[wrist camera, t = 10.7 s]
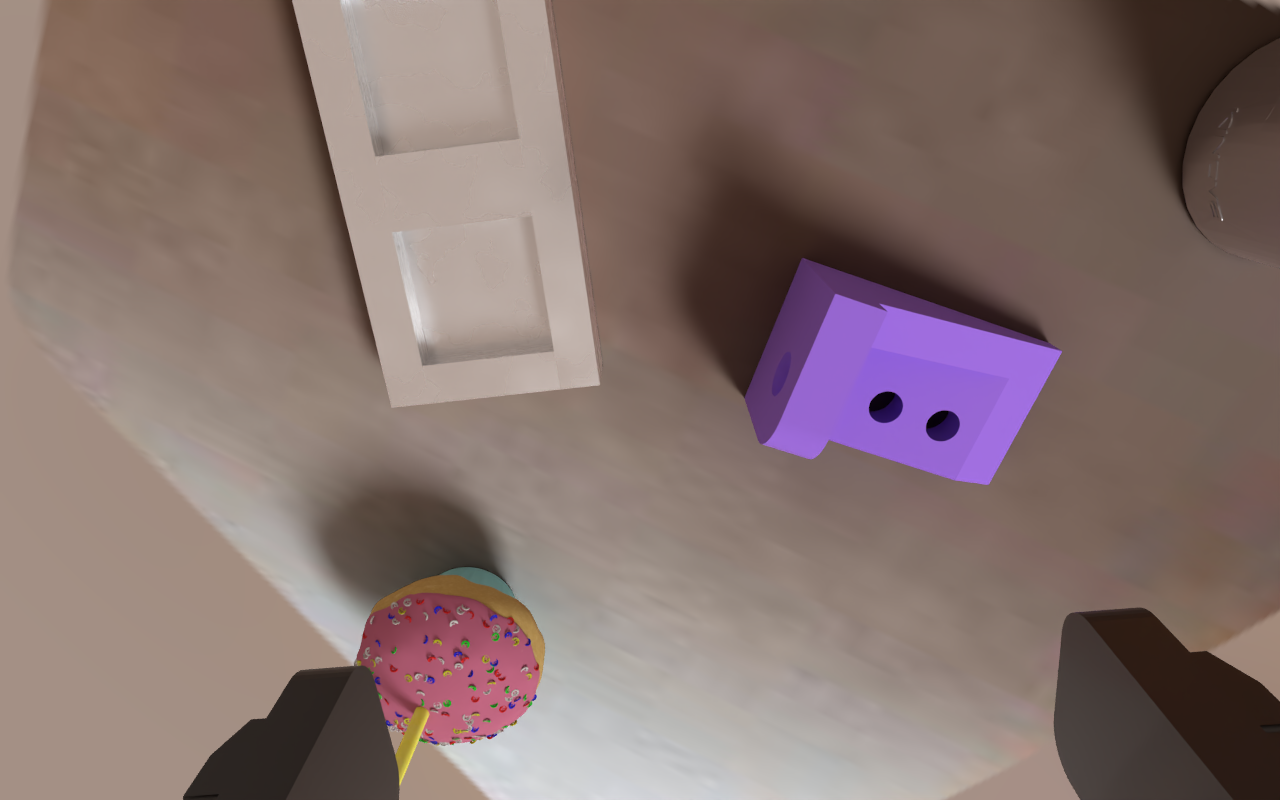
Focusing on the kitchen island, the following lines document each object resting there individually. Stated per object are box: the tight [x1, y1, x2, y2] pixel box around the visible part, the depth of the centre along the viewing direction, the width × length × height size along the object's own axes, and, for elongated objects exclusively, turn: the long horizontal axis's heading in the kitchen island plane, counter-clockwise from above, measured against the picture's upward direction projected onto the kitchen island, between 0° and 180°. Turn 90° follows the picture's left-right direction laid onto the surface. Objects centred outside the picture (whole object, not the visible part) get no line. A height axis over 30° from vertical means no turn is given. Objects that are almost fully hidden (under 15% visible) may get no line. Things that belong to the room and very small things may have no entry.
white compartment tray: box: [292, 0, 603, 408], centre depth 31 cm, size 9×26×3 cm, turn 7°
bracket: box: [745, 258, 1062, 485], centre depth 34 cm, size 12×7×7 cm, turn 71°
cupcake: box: [354, 567, 545, 787], centre depth 36 cm, size 9×8×12 cm
